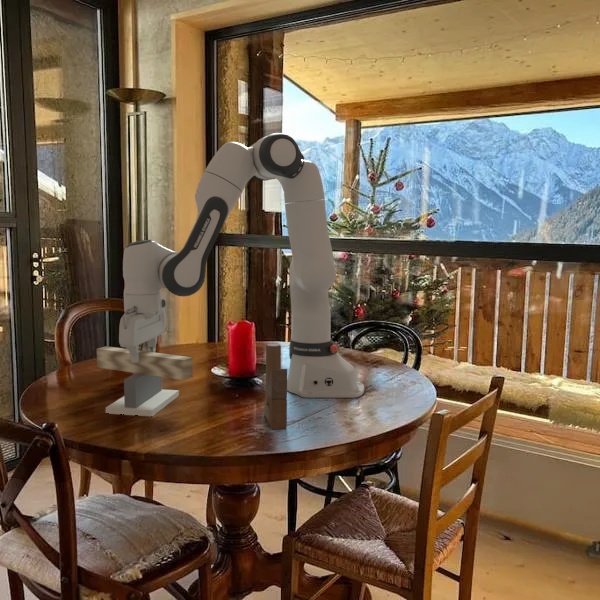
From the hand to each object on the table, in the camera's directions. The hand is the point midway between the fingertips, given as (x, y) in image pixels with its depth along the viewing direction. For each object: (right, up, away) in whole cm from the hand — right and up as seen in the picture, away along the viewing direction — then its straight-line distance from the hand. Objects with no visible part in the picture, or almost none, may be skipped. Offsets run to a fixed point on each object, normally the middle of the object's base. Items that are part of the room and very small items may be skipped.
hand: (143, 358), depth 152 cm
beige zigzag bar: (0, -4, 0) cm, 4 cm away
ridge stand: (0, -12, +1) cm, 12 cm away
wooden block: (+34, -14, -11) cm, 39 cm away
